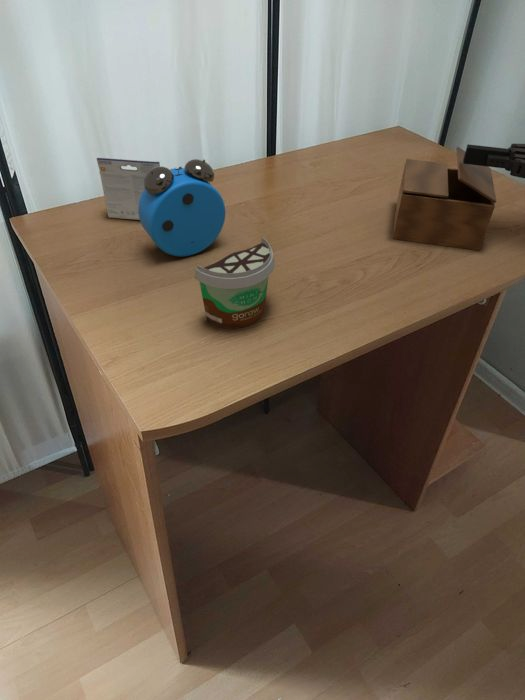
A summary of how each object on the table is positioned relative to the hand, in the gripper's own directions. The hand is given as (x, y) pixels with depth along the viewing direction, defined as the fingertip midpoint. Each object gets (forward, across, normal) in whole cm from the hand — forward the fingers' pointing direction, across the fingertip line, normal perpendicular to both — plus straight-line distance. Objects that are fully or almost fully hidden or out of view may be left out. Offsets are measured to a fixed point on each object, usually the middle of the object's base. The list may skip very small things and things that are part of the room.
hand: (465, 154), depth 89 cm
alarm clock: (+44, -20, -14) cm, 50 cm away
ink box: (+55, -12, -14) cm, 58 cm away
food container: (+29, -35, -14) cm, 47 cm away
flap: (-2, 0, -3) cm, 4 cm away
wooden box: (+2, 0, -14) cm, 14 cm away
